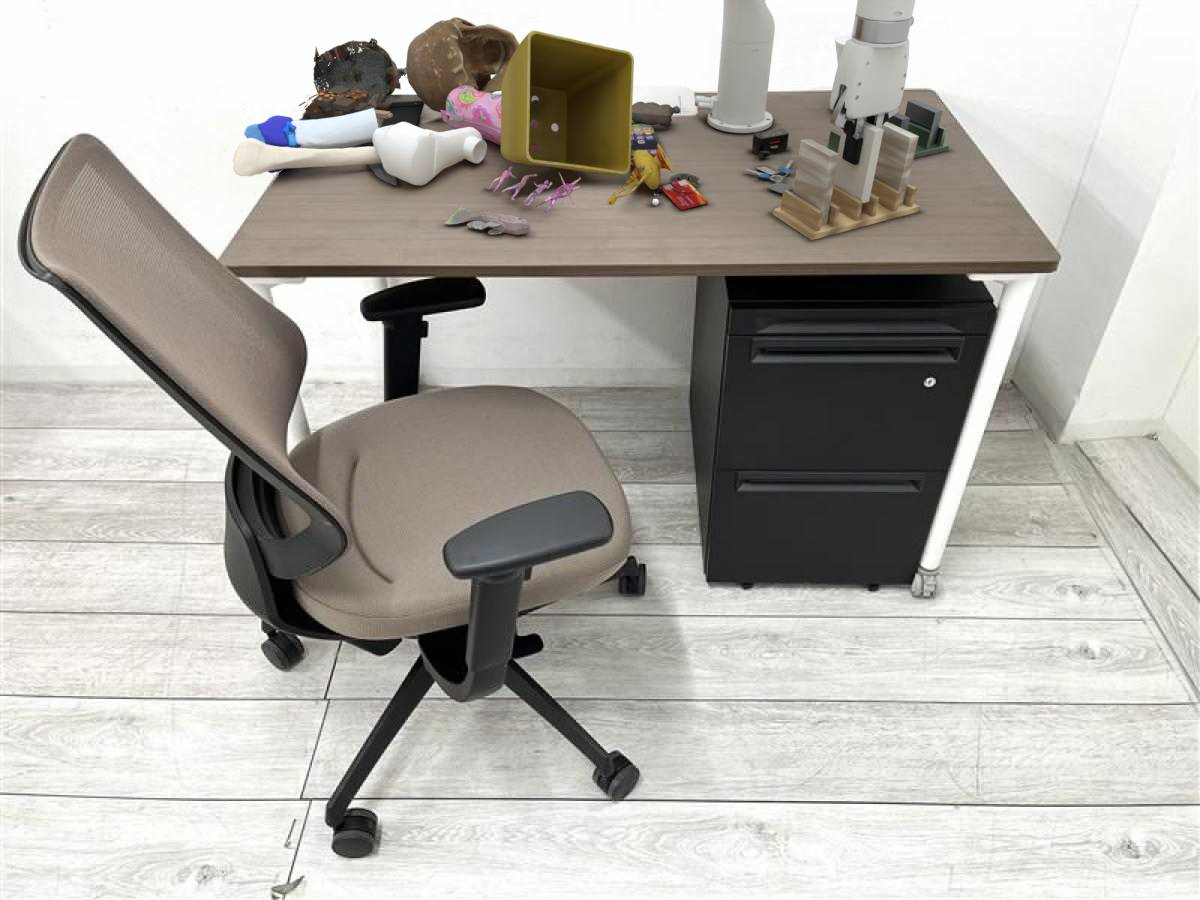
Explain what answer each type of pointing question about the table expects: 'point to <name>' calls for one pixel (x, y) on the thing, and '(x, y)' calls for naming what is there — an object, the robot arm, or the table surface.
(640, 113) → the rhino figurine
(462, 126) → the pencil case
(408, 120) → the smartphone
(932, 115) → the green rack
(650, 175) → the magic lamp
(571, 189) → the people figure
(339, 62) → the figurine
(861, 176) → the white book
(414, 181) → the white plastic bottle
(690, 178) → the corroded twin loop
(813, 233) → the beige rack
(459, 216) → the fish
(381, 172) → the knife
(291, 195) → the table surface
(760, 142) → the wireless earbuds
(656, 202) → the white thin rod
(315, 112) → the video game creature
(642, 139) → the smartphone
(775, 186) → the key chain
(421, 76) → the skull
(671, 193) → the card
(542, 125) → the flower pot
